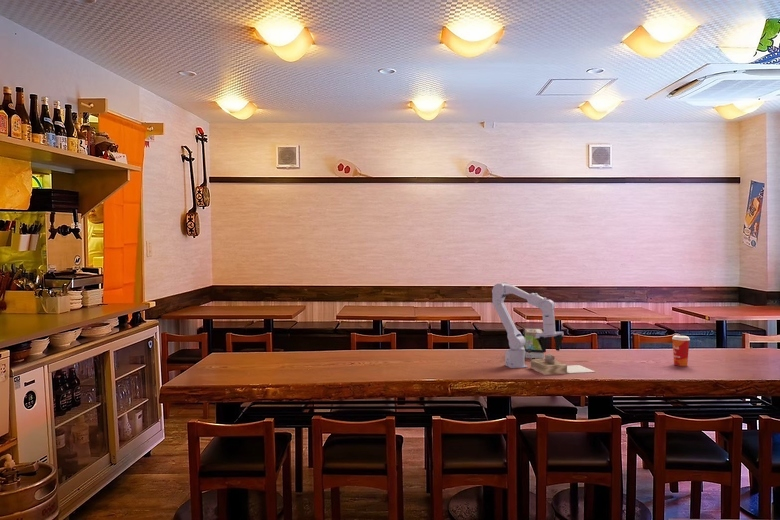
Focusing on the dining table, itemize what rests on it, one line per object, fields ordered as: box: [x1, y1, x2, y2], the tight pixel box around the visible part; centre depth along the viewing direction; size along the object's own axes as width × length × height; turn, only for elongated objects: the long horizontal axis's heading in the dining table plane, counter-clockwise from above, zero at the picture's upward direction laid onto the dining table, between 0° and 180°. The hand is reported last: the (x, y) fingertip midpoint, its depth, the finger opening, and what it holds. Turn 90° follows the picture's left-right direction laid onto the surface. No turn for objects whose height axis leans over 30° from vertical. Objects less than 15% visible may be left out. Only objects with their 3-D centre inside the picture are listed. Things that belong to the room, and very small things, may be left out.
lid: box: [537, 354, 565, 365], centre depth 249 cm, size 11×11×4 cm
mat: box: [567, 364, 596, 374], centre depth 251 cm, size 14×14×1 cm
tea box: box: [523, 328, 545, 360], centre depth 284 cm, size 15×10×15 cm, turn 168°
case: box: [530, 358, 568, 376], centre depth 249 cm, size 12×14×4 cm
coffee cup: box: [671, 334, 691, 367], centre depth 261 cm, size 8×8×15 cm
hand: (550, 351), depth 249 cm, fingers open, 7 cm apart
